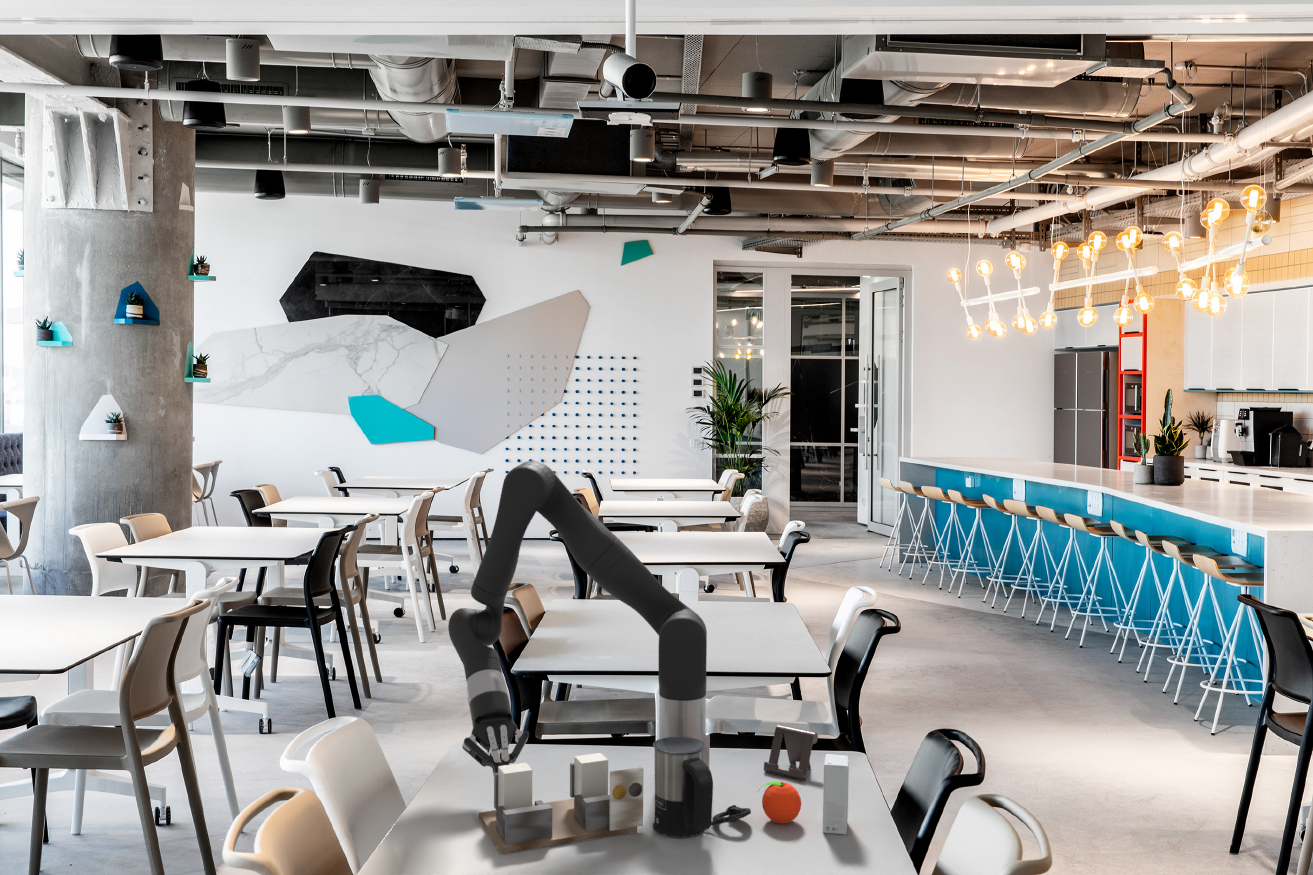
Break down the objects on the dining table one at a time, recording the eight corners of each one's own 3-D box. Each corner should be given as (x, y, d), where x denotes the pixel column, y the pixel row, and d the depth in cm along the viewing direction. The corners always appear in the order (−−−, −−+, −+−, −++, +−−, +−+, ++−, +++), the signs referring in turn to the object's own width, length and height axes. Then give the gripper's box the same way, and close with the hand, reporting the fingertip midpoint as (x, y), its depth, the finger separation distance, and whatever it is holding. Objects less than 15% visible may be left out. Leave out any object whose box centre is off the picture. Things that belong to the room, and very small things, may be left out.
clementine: (751, 824, 181) (751, 785, 180) (761, 810, 187) (762, 772, 187) (795, 832, 178) (796, 791, 177) (805, 817, 184) (805, 778, 184)
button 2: (600, 799, 188) (601, 750, 188) (610, 809, 184) (610, 759, 183) (569, 803, 186) (570, 754, 186) (578, 813, 181) (578, 763, 181)
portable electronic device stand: (762, 772, 207) (763, 731, 207) (781, 761, 213) (781, 722, 213) (802, 782, 202) (802, 740, 201) (819, 770, 208) (820, 729, 208)
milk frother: (641, 827, 179) (641, 743, 179) (700, 803, 190) (701, 723, 190) (702, 852, 169) (703, 763, 169) (761, 824, 181) (762, 741, 180)
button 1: (526, 810, 183) (527, 760, 183) (534, 820, 178) (535, 769, 178) (493, 815, 180) (494, 764, 180) (501, 825, 176) (501, 773, 176)
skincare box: (847, 835, 176) (848, 766, 176) (822, 833, 177) (823, 764, 177) (848, 821, 182) (849, 754, 182) (823, 819, 183) (824, 752, 183)
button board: (610, 798, 192) (610, 740, 192) (643, 831, 177) (643, 768, 177) (478, 817, 182) (478, 756, 182) (501, 854, 167) (502, 788, 167)
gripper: (457, 692, 192) (471, 779, 181) (525, 685, 197) (543, 769, 186) (451, 712, 197) (464, 798, 186) (518, 705, 202) (535, 788, 191)
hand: (504, 784), depth 186 cm, fingers closed
